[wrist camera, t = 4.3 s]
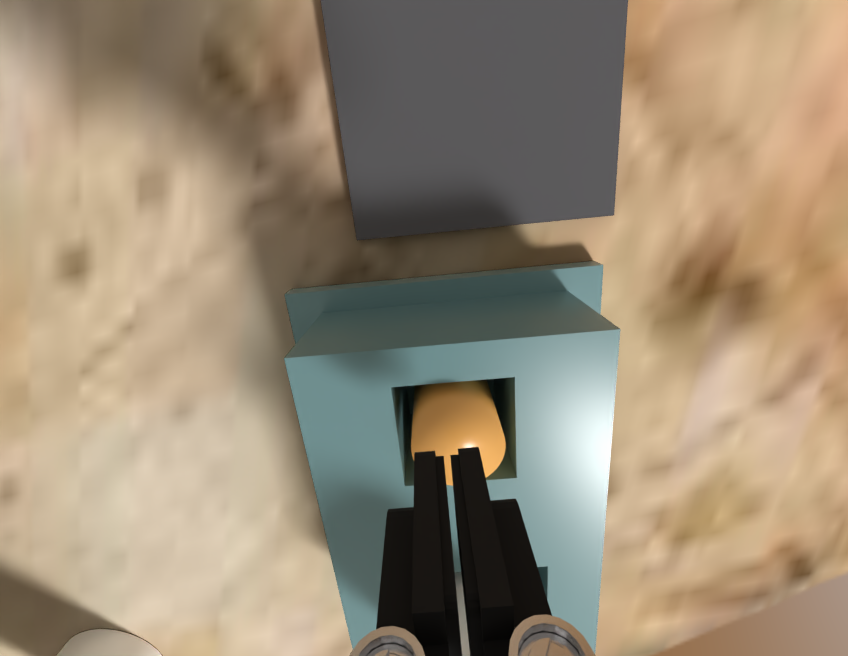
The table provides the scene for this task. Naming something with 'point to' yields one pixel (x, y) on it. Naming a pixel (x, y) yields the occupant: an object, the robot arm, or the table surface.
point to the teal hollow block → (454, 362)
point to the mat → (476, 110)
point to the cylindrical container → (107, 644)
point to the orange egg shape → (457, 422)
